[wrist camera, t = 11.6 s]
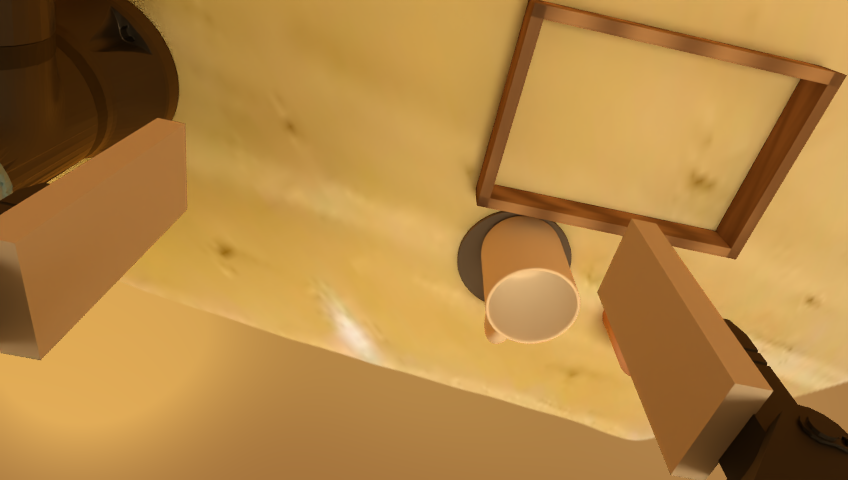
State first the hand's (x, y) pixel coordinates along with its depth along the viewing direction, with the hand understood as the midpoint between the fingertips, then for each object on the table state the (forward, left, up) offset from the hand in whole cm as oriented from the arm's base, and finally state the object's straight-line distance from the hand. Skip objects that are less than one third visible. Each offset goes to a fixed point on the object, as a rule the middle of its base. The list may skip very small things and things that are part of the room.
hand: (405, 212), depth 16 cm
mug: (+13, -21, -34) cm, 42 cm away
